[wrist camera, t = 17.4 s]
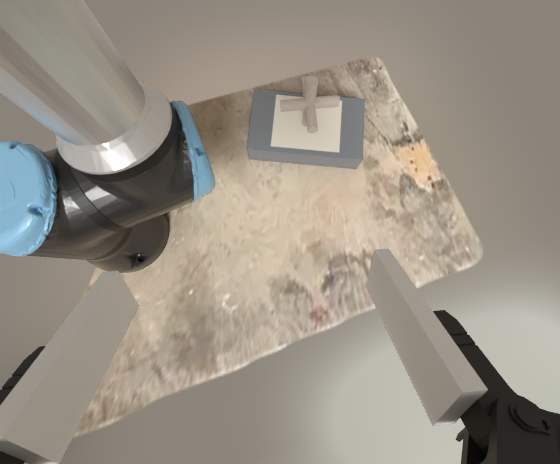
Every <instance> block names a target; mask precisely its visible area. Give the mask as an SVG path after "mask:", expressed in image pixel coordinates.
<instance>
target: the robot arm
mask: <svg viewBox="0 0 560 464" xmlns="http://www.w3.org/2000/svg"><path fill="white" fill-rule="evenodd" d="M0 92H1V93H2V94H3V95H5V96H6V97H7V98H9V99H10V100H11V101H13V102H14V103H15V104H17V105H18V106H19V107H21V108H22V109H23V110H24V111H26V112H27V113H28V114H30V115H31V116H32V117H34V118H35V119H36V120H38V121H39V122H40V123H42V124H43V125H44V126H46V127H47V128H48V129H50V130H51V131H52V132H54V133H55V134H56V143H57V148H55V149H53V150H50V151H47V152H43V151H41V150H40V149H38V148H37V147H35V146H33V145H30V144H22V143H19V142H17V141H0V253H4V254H9V255H12V256H25V255H28V256H40V257H54V258H66V259H80V260H86V261H88V262H90V263H91V264H93V265H95V266H96V267H98V268H100V269H103V270H106V271H108V272H102V274H101V275H100V276H99V278H98V279H97V280H96V282H95V283H94V284H93V285H92V287H91V288H90V289H89V291H88V292H87V293H86V295H85V296H84V297H83V298H82V300H81V301H80V302H79V304H78V305H77V306H76V308H75V309H74V310H73V311H72V313H71V314H70V316H69V317H68V318H67V319H66V321H65V322H64V323H63V325H62V326H61V327H60V328H59V330H58V331H57V332H56V334H55V335H54V336H53V338H52V339H51V340H50V342H49V343H48V344H47V345H46V346H41V347H39V348H38V349H36V350H35V351H34V352H33V353H32V354H31V355H29V356H28V357H27V358H26V359H25V360H24V361H23V362H22V363H21V365H20V366H19V367H18V368H17V370H16V371H15V372H14V373H13V374H12V375H13V376H12V377H11V378H9V380H8V381H7V382H6V383H5V384H4V386H3V387H2V390H0V464H24V462H26V463H29V464H59V463H60V461H61V459H62V457H63V455H64V453H65V451H66V449H67V447H68V445H69V443H70V441H71V439H72V437H73V435H74V433H75V431H76V429H77V427H78V425H79V423H80V422H81V420H82V418H83V416H84V414H85V412H86V410H87V408H88V406H89V404H90V402H91V400H92V398H93V396H94V394H95V392H96V390H97V388H98V386H99V384H100V382H101V380H102V378H103V376H104V374H105V372H106V370H107V368H108V366H109V364H110V362H111V360H112V358H113V356H114V355H115V353H116V351H117V349H118V347H119V345H120V343H121V341H122V339H123V337H124V335H125V333H126V331H127V329H128V327H129V325H130V323H131V321H132V319H133V317H134V315H135V313H136V311H137V309H138V307H139V305H138V303H137V301H136V300H135V298H134V296H133V295H132V293H131V291H130V289H129V288H128V286H127V284H126V283H125V281H124V279H123V278H122V276H121V274H120V273H128V272H134V271H138V270H141V269H143V268H145V267H147V266H148V265H150V264H151V263H153V262H154V261H155V260H156V259H157V258H158V257H159V256H160V254H161V253H162V251H163V250H164V248H165V246H166V243H167V240H168V235H169V224H168V220H167V217H166V214H165V213H167V212H169V211H172V210H174V209H177V208H179V207H182V206H184V205H187V204H189V203H193V202H195V201H196V200H197V199H199V198H201V197H203V196H205V195H207V194H209V193H210V192H212V190H213V189H214V187H215V178H214V174H213V171H212V168H211V165H210V162H209V160H208V157H207V154H206V152H205V150H204V147H203V144H202V142H201V138H200V136H199V133H198V130H197V128H196V125H195V123H194V121H193V118H192V116H191V114H190V111H189V109H188V107H187V105H186V104H185V103H184V102H182V101H177V102H176V101H172V102H169V101H168V99H167V98H166V97H165V95H164V94H163V93H162V92H161V91H160V89H158V88H157V87H155V86H153V85H151V84H149V83H147V82H144V81H139V80H136V78H135V77H134V75H133V74H132V72H131V71H130V69H129V68H128V66H127V65H126V63H125V62H124V60H123V59H122V58H121V56H120V54H119V53H118V51H117V50H116V48H115V47H114V45H113V44H112V42H111V41H110V40H109V38H108V36H107V35H106V34H105V32H104V31H103V29H102V28H101V26H100V25H99V23H98V22H97V20H96V19H95V17H94V16H93V14H92V13H91V11H90V10H89V8H88V7H87V5H86V4H85V2H84V1H83V0H0ZM366 288H367V290H368V292H369V294H370V296H371V298H372V300H373V302H374V304H375V306H376V308H377V310H378V313H379V315H380V317H381V319H382V321H383V323H384V325H385V327H386V329H387V331H388V333H389V336H390V337H391V340H392V342H393V344H394V346H395V348H396V350H397V352H398V354H399V356H400V358H401V361H402V363H403V364H404V367H405V369H406V371H407V373H408V375H409V377H410V379H411V381H412V383H413V386H414V388H415V390H416V392H417V394H418V396H419V398H420V400H421V402H422V404H423V406H424V408H425V410H426V413H427V415H428V417H429V419H430V421H431V423H432V425H433V426H439V425H448V424H454V423H455V422H456V421H457V420H458V419H459V418H461V420H462V421H463V423H464V425H465V428H464V429H463V430H462V431H461V432H460V433H458V435H457V438H456V440H457V441H459V442H460V441H461V440H462V439H463V449H462V458H461V464H560V414H557V413H553V412H549V411H545V410H543V409H540V408H539V407H537V406H536V405H535V404H534V403H532V402H531V401H529V400H527V399H526V398H524V397H522V396H519V395H517V394H516V393H515V392H514V391H513V390H512V389H511V388H510V387H509V386H508V385H507V383H506V382H505V381H504V379H503V378H502V377H501V376H500V374H499V373H498V372H497V370H496V369H495V368H494V367H493V365H492V364H491V363H490V362H489V360H488V359H487V358H486V356H485V355H484V354H483V353H482V351H481V350H480V349H479V347H478V346H476V345H475V342H474V341H473V340H472V338H471V337H470V336H469V335H467V332H466V331H465V329H464V328H463V327H462V326H461V324H460V323H459V322H458V321H457V320H456V319H455V318H454V317H453V316H451V315H450V314H449V313H447V312H446V311H445V310H442V311H432V309H431V308H430V307H429V305H428V304H427V302H426V301H425V300H424V298H423V297H422V295H421V294H420V292H419V291H418V290H417V288H416V287H415V285H414V284H413V282H412V281H411V280H410V278H409V277H408V275H407V274H406V273H405V271H404V270H403V268H402V267H401V265H400V264H399V263H398V261H397V260H396V258H395V257H394V256H393V254H392V253H391V251H390V250H389V249H380V250H374V253H373V258H372V262H371V267H370V271H369V276H368V280H367V284H366Z"/></svg>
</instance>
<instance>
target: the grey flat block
mask: <svg viewBox="0 0 560 464" xmlns="http://www.w3.org/2000/svg"><path fill="white" fill-rule="evenodd" d="M320 96H326V95H316V97H320ZM299 98H303V93H293V92H283V91H272V90H261V89H254V95H253V103H252V110H251V118H250V126H249V134H248V141H247V153H248V157H249V159H254V160H265V161H276V162H286V163H297V164H308V165H318V166H329V167H340V168H351V169H356V168H357V167H358V165H359V164H360V163H361V161H362V160H363V133H364V103H365V99H359V98H348V97H340V104H339V107H330V108H319V109H315V110H316V117H317V125H318V131H317V132H315V133H308V131H307V127H305V126H303V124H302V120H303V111H304V110H297V111H286V112H281V108H280V100H288V99H299Z"/></svg>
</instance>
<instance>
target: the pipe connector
mask: <svg viewBox="0 0 560 464" xmlns="http://www.w3.org/2000/svg"><path fill="white" fill-rule="evenodd" d="M301 82H302V90H303V98H299V99H288V100H280V108H281V112H286V111H297V110H304V111H303V120H302V124H303V126H305V127H307V131H308V133H315V132H317V131H318V125H317V117H316V110H315V109H319V108H330V107H339V104H340V96H339V95H331V96H320V97H316V94H317V88H318V82H319V80H318V77H316V76H314V75H311V76H309V75H306V76H304V77H302V79H301Z"/></svg>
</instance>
